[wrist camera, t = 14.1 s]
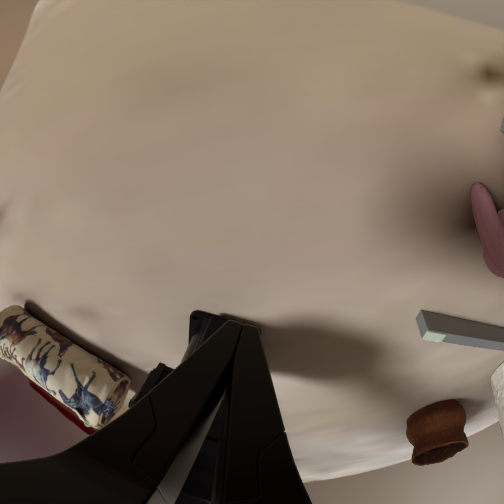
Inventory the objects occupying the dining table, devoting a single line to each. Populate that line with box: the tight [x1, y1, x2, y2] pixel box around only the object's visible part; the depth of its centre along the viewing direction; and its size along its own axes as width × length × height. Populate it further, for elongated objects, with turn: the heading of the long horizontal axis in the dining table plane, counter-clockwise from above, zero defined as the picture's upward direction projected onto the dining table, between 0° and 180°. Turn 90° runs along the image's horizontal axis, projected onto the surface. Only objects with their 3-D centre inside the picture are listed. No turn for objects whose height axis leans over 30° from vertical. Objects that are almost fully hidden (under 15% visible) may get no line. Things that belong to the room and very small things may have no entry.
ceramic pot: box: [406, 399, 468, 466], centre depth 28 cm, size 18×18×7 cm
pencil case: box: [0, 305, 131, 430], centre depth 32 cm, size 22×8×10 cm, turn 66°
